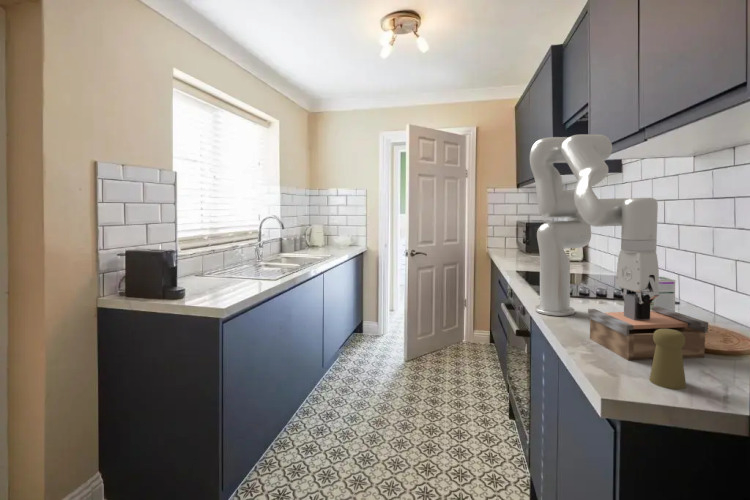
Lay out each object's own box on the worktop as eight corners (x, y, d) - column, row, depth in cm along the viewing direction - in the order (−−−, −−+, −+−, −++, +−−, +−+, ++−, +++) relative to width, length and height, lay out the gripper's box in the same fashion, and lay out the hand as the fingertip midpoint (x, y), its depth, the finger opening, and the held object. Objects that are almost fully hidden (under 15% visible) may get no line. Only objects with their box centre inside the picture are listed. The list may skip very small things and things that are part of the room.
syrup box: (675, 328, 113) (677, 279, 111) (652, 328, 114) (654, 279, 112) (664, 323, 118) (666, 276, 117) (643, 322, 119) (644, 276, 118)
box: (587, 338, 107) (588, 308, 106) (656, 335, 107) (657, 306, 106) (625, 360, 91) (626, 325, 90) (706, 357, 91) (708, 322, 90)
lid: (590, 316, 107) (591, 291, 106) (652, 314, 107) (653, 289, 106) (618, 329, 95) (619, 301, 94) (688, 327, 95) (689, 299, 94)
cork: (674, 391, 75) (676, 336, 74) (642, 380, 80) (644, 328, 79) (693, 385, 77) (695, 331, 76) (660, 374, 83) (662, 324, 82)
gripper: (604, 244, 107) (603, 309, 109) (647, 249, 91) (645, 326, 92) (631, 243, 107) (629, 308, 109) (678, 248, 91) (676, 324, 92)
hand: (636, 315), depth 101 cm, fingers closed on lid, 4 cm apart
